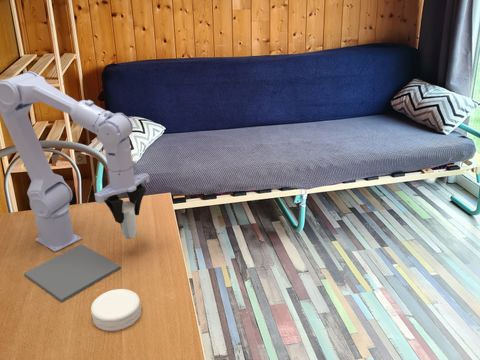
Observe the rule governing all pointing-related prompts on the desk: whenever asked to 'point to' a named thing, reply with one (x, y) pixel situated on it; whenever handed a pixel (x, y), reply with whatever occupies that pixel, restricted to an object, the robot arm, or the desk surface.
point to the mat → (72, 272)
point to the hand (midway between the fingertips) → (127, 217)
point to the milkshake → (128, 220)
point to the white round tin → (116, 310)
